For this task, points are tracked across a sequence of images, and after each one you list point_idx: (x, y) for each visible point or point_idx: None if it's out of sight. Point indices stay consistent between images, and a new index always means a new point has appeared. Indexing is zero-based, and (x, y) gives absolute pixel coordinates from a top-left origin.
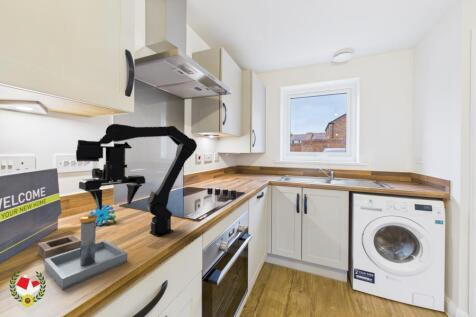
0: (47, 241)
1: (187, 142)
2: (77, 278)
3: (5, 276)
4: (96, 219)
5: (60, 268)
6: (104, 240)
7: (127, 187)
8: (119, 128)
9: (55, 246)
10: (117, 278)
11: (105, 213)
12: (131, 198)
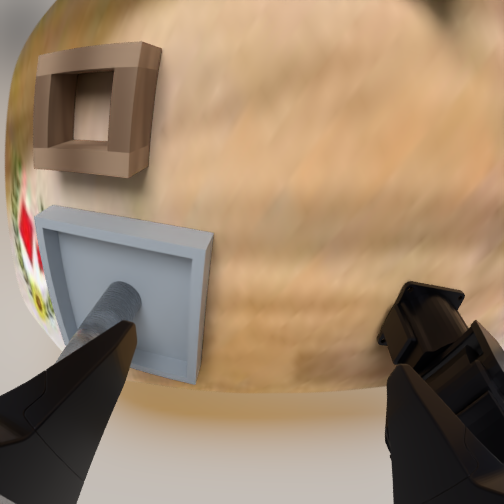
0: (59, 57)
1: None
2: None
3: (5, 163)
4: None
5: (72, 259)
6: (202, 253)
7: (488, 494)
8: None
9: (56, 151)
10: (154, 383)
11: None
12: (397, 440)
